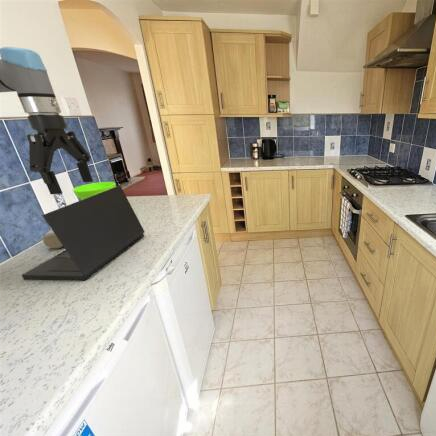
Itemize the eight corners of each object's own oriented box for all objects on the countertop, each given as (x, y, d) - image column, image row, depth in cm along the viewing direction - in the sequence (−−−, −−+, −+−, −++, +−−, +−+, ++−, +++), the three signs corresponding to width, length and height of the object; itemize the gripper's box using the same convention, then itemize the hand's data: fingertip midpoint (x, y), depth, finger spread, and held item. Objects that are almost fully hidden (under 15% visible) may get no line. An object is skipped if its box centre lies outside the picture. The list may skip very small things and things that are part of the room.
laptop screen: (41, 215, 67) (44, 214, 67) (118, 185, 95) (120, 185, 95) (83, 276, 75) (85, 275, 75) (143, 232, 103) (145, 232, 103)
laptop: (23, 279, 77) (20, 274, 77) (97, 236, 105) (96, 232, 104) (85, 280, 76) (83, 275, 75) (144, 236, 103) (143, 232, 103)
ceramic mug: (45, 251, 94) (37, 233, 90) (56, 242, 101) (48, 225, 98) (79, 246, 97) (71, 229, 94) (86, 237, 104) (80, 221, 101)
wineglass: (128, 213, 129) (118, 180, 122) (124, 224, 115) (112, 188, 108) (92, 219, 123) (78, 184, 115) (82, 231, 109) (67, 193, 102)
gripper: (17, 114, 57) (54, 199, 66) (88, 114, 80) (109, 177, 88) (-18, 115, 57) (25, 200, 65) (64, 114, 79) (88, 178, 88)
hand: (73, 187), depth 77 cm, fingers open, 13 cm apart
